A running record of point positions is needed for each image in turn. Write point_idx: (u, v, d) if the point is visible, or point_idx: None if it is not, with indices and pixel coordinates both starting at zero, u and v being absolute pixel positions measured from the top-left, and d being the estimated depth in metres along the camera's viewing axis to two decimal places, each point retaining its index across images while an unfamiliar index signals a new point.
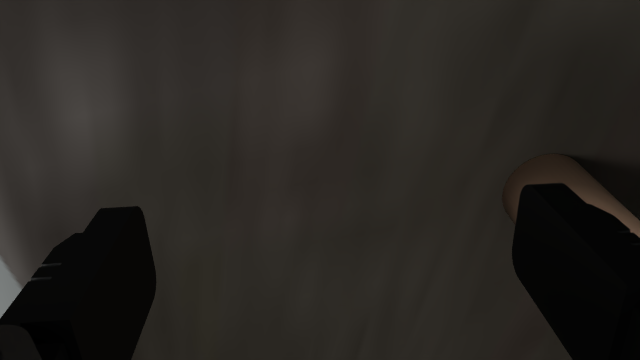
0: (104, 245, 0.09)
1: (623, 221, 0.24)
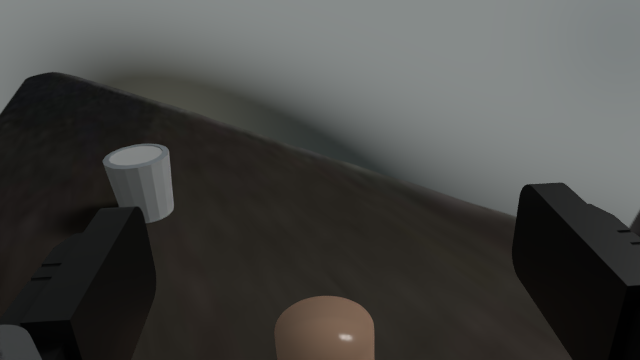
0: (104, 245, 0.09)
1: None
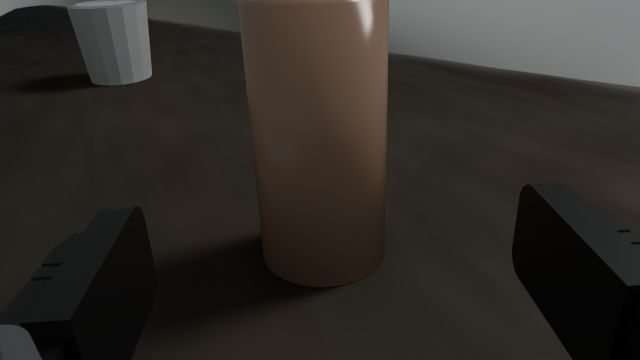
0: (104, 245, 0.09)
1: (358, 97, 0.17)
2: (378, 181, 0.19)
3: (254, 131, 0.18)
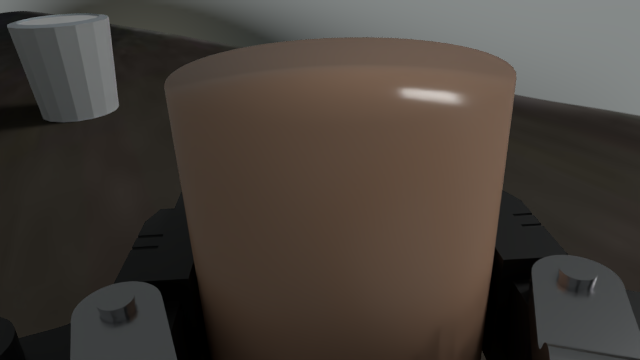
0: None
1: (447, 313, 0.07)
2: None
3: (210, 347, 0.09)
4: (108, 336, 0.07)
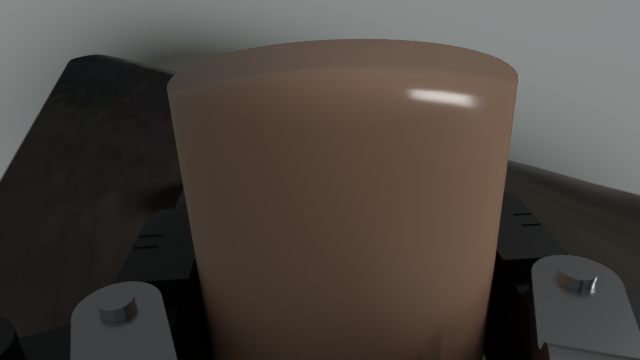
0: None
1: (449, 315, 0.07)
2: None
3: (213, 348, 0.09)
4: (108, 336, 0.07)
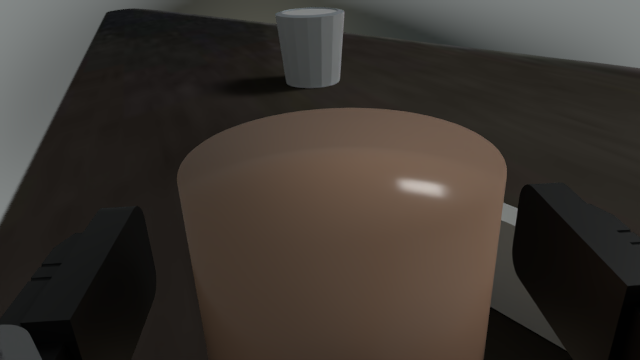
0: (104, 245, 0.09)
1: None
2: None
3: None
4: None
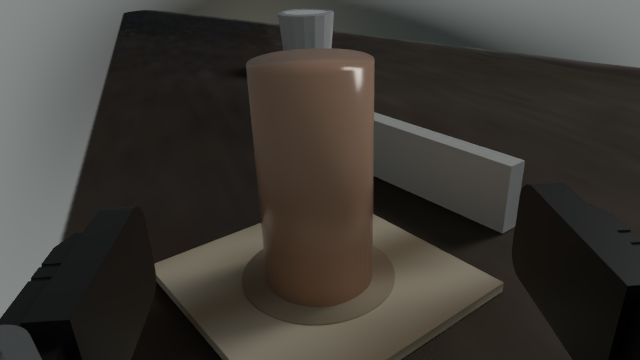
0: (104, 245, 0.09)
1: (348, 148, 0.20)
2: (366, 216, 0.22)
3: (259, 174, 0.21)
4: None
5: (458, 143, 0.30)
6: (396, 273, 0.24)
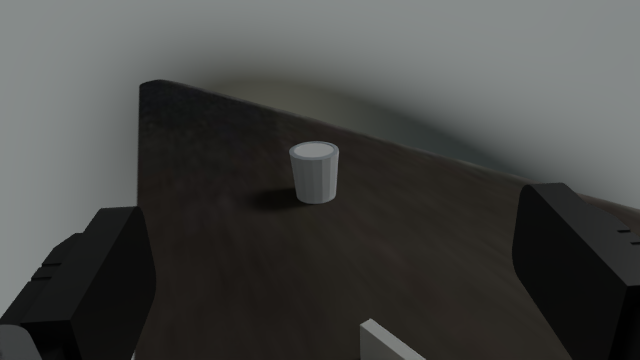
0: (104, 245, 0.09)
1: None
2: None
3: None
4: None
5: None
6: None
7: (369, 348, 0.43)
